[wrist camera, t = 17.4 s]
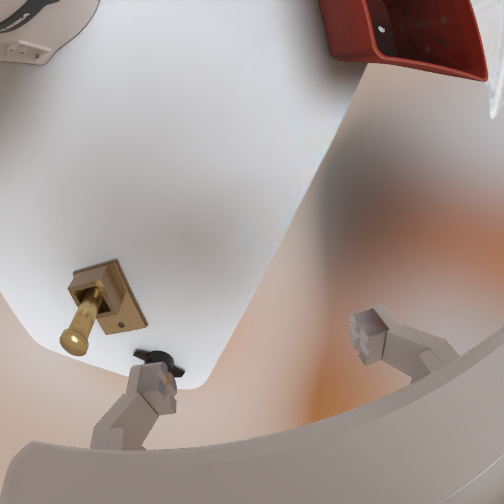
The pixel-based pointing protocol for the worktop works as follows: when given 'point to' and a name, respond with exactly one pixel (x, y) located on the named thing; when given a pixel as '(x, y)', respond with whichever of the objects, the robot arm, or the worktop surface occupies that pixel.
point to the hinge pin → (82, 323)
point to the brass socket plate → (109, 297)
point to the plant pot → (407, 35)
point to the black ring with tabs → (160, 357)
